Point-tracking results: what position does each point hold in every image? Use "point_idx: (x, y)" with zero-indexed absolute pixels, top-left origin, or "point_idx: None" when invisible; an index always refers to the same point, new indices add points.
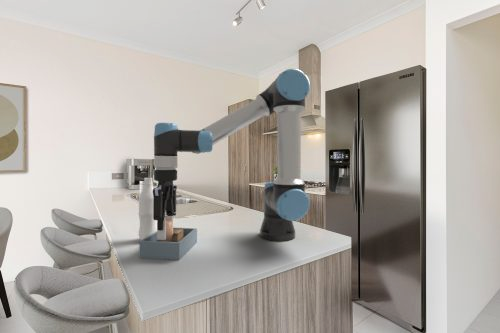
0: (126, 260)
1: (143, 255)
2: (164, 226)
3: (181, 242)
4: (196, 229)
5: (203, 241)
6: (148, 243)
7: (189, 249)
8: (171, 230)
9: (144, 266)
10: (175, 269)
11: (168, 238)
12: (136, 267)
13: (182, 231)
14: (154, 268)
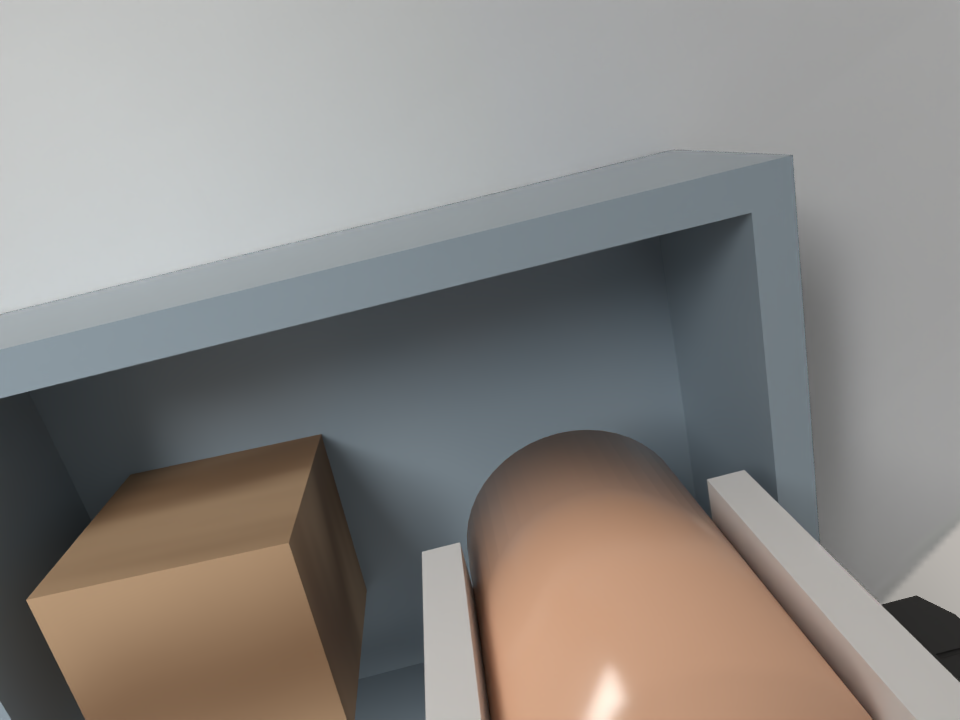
0: None
1: None
2: (905, 637)
3: (683, 178)
4: None
5: None
6: None
7: (309, 239)
8: (623, 535)
9: (905, 401)
10: (929, 20)
11: (652, 472)
12: (937, 452)
13: (83, 573)
14: (936, 272)
